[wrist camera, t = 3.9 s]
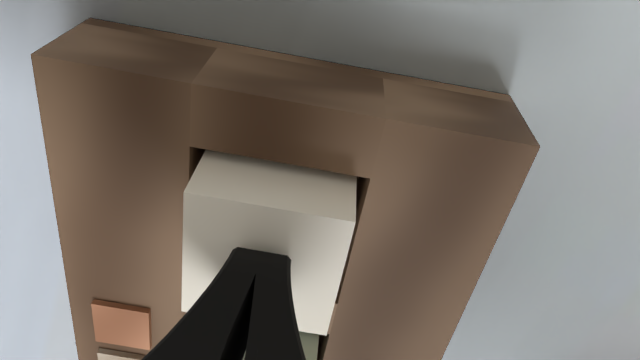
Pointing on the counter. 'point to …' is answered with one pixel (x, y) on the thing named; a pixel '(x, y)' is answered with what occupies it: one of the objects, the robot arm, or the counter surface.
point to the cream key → (269, 227)
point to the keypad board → (279, 146)
